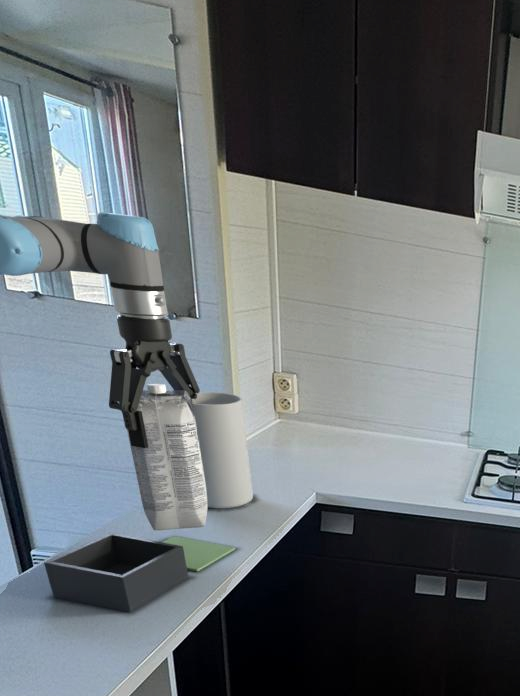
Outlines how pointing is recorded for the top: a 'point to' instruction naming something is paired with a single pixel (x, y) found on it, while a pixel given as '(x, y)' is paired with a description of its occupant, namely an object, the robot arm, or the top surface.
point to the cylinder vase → (223, 449)
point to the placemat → (199, 552)
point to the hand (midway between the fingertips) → (165, 439)
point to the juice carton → (170, 461)
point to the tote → (117, 571)
